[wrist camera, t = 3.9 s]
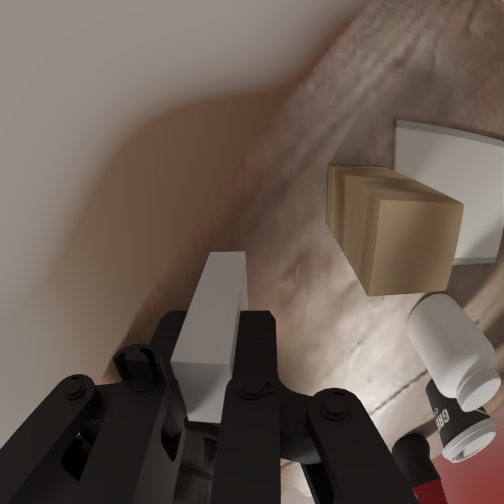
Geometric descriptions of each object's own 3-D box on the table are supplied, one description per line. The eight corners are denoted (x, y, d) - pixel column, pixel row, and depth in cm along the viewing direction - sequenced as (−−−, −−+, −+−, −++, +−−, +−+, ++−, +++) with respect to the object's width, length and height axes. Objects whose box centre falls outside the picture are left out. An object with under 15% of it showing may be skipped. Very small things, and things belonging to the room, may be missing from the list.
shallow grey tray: (382, 265, 32) (384, 268, 31) (394, 119, 26) (397, 119, 25) (492, 260, 31) (495, 262, 31) (511, 143, 25) (514, 144, 24)
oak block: (326, 222, 30) (367, 296, 17) (328, 164, 28) (380, 199, 15) (380, 222, 30) (445, 290, 17) (384, 166, 28) (464, 204, 15)
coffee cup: (430, 365, 39) (466, 439, 25) (472, 358, 38) (510, 420, 25) (410, 403, 43) (435, 471, 29) (451, 395, 42) (479, 455, 29)
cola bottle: (381, 451, 50) (405, 567, 22) (406, 430, 46) (441, 554, 19) (407, 451, 51) (434, 556, 23) (431, 430, 47) (467, 541, 20)
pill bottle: (451, 329, 36) (499, 402, 22) (404, 346, 37) (443, 429, 23) (456, 284, 33) (519, 356, 19) (405, 301, 34) (459, 387, 20)
